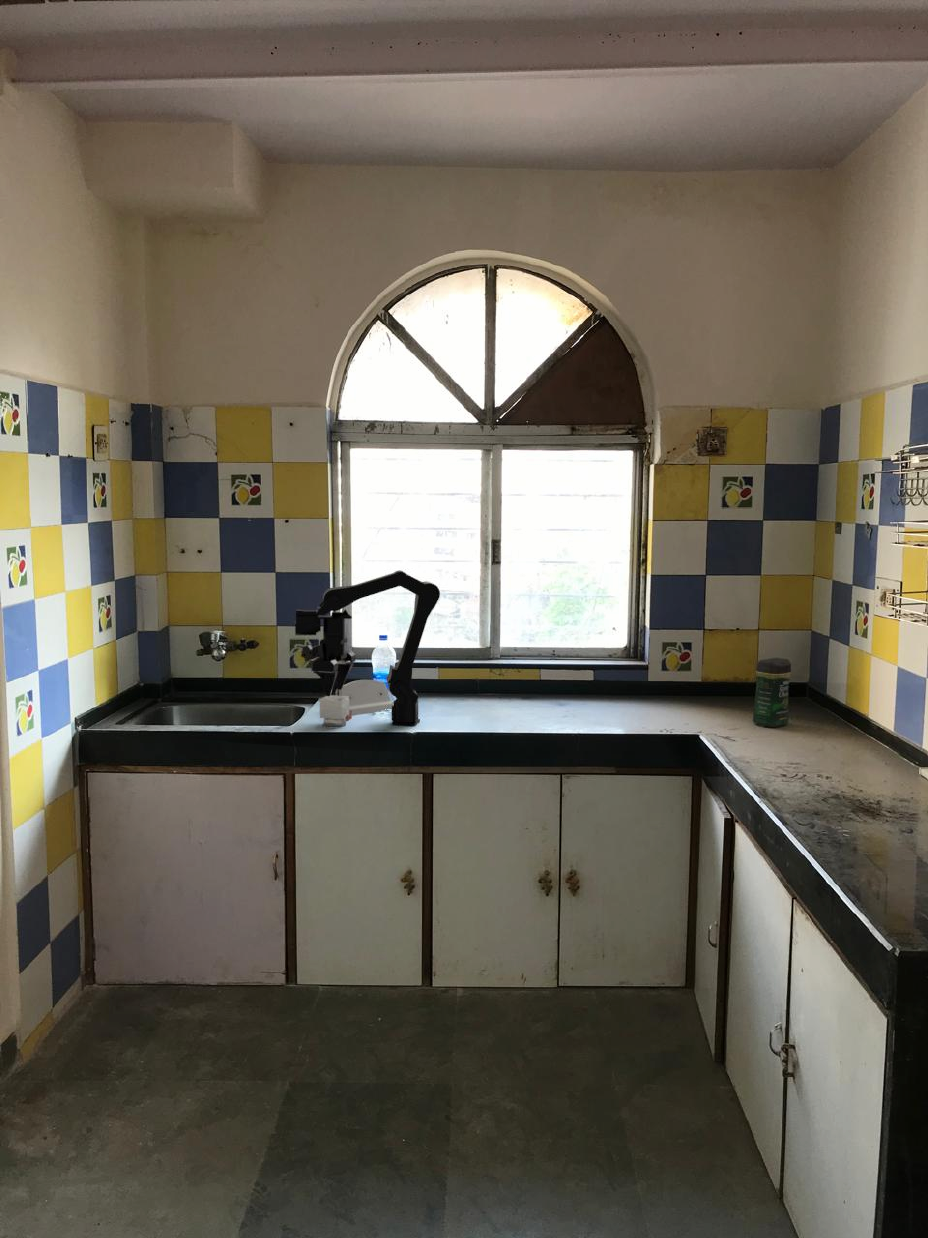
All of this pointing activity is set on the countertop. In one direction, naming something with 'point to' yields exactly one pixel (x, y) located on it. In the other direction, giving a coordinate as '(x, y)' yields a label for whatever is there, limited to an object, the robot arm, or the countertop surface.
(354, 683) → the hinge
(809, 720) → the countertop surface
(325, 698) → the grey cube
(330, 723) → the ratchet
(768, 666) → the coffee jar
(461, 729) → the countertop surface
